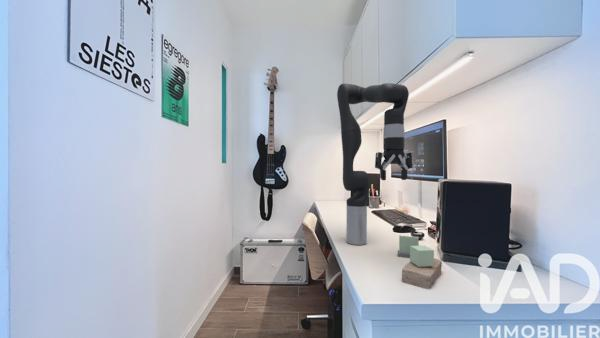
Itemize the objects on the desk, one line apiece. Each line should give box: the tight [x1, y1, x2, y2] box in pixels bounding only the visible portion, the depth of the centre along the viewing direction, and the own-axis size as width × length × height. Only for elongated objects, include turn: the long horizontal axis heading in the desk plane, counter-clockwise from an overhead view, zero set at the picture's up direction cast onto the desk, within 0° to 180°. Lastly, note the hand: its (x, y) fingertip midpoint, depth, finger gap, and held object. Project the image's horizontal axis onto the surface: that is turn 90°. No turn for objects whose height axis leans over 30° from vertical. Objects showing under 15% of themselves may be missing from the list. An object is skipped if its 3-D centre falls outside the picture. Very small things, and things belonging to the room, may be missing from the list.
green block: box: [409, 245, 435, 267], centre depth 85 cm, size 5×5×5 cm
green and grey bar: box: [397, 234, 420, 259], centre depth 105 cm, size 4×8×8 cm, turn 68°
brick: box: [401, 257, 443, 290], centre depth 85 cm, size 16×8×5 cm, turn 141°
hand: (393, 180), depth 101 cm, fingers open, 8 cm apart
